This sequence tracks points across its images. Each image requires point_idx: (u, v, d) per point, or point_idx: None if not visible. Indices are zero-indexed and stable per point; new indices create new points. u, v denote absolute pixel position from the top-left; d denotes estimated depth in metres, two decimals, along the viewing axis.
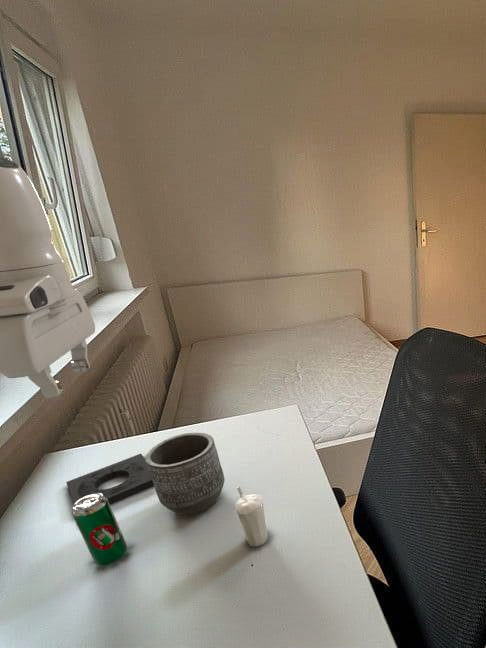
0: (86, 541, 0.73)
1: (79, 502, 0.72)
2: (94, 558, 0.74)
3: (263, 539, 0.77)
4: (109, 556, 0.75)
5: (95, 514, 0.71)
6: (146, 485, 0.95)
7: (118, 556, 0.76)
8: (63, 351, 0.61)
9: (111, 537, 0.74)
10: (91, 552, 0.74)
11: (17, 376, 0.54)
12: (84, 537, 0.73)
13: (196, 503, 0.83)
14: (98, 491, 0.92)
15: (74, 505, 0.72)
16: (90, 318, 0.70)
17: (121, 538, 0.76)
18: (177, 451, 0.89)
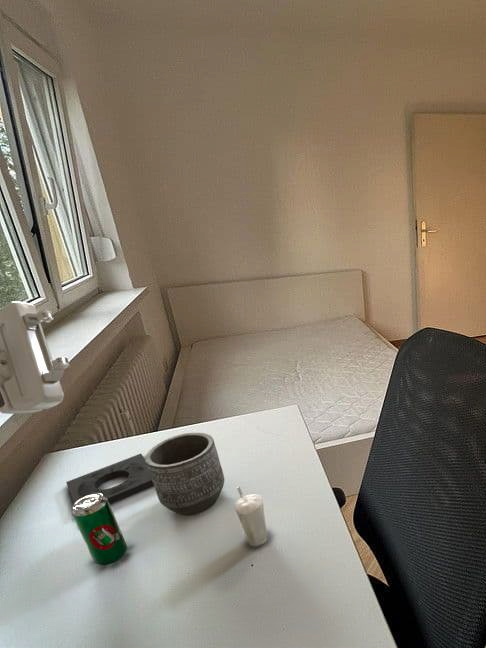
0: (86, 541, 0.73)
1: (79, 502, 0.72)
2: (94, 558, 0.74)
3: (263, 539, 0.77)
4: (109, 556, 0.75)
5: (95, 514, 0.71)
6: (146, 485, 0.95)
7: (118, 556, 0.76)
8: (30, 361, 0.78)
9: (111, 537, 0.74)
10: (91, 552, 0.74)
11: (56, 397, 0.79)
12: (84, 537, 0.73)
13: (196, 503, 0.83)
14: (98, 491, 0.92)
15: (74, 505, 0.72)
16: (6, 310, 0.80)
17: (121, 538, 0.76)
18: (177, 451, 0.89)
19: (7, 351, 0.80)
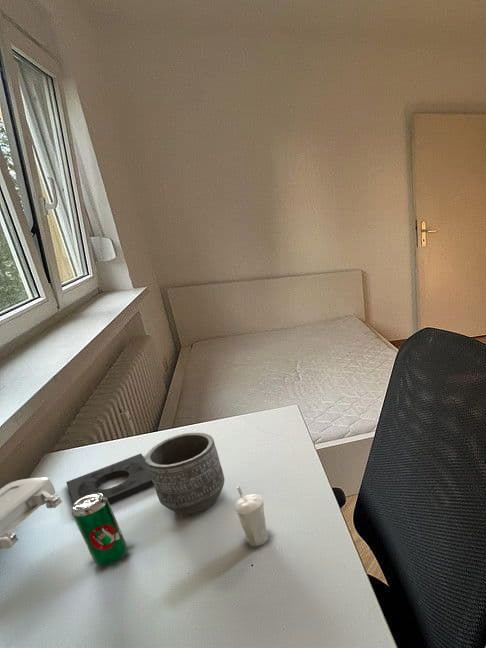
0: (86, 541, 0.73)
1: (79, 502, 0.72)
2: (94, 558, 0.74)
3: (263, 539, 0.77)
4: (109, 556, 0.75)
5: (95, 514, 0.71)
6: (146, 485, 0.95)
7: (118, 556, 0.76)
8: None
9: (111, 537, 0.74)
10: (91, 552, 0.74)
11: None
12: (84, 537, 0.73)
13: (196, 503, 0.83)
14: (98, 491, 0.92)
15: (74, 505, 0.72)
16: (34, 480, 0.83)
17: (121, 538, 0.76)
18: (177, 451, 0.89)
19: None
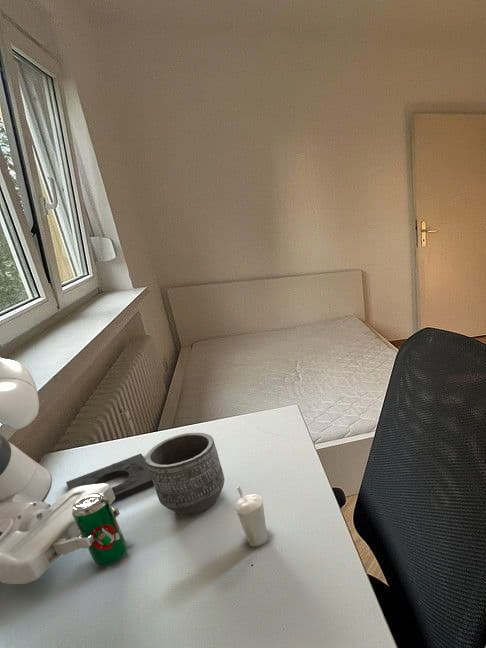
0: None
1: (79, 502, 0.73)
2: (94, 558, 0.74)
3: (263, 539, 0.77)
4: (109, 556, 0.75)
5: (95, 513, 0.71)
6: (146, 485, 0.95)
7: (118, 556, 0.76)
8: (60, 528, 0.72)
9: (111, 537, 0.74)
10: (91, 552, 0.74)
11: (31, 574, 0.66)
12: None
13: (196, 503, 0.83)
14: None
15: (74, 505, 0.72)
16: (95, 486, 0.82)
17: (121, 538, 0.76)
18: (177, 451, 0.89)
19: (53, 512, 0.77)
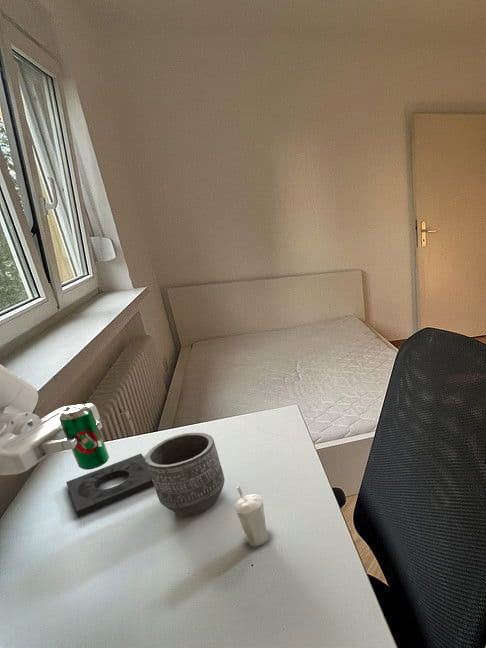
0: None
1: (65, 409, 0.81)
2: (78, 462, 0.83)
3: (263, 539, 0.77)
4: (92, 460, 0.83)
5: (79, 419, 0.80)
6: (146, 485, 0.95)
7: (100, 461, 0.84)
8: (48, 432, 0.81)
9: (94, 443, 0.83)
10: (76, 456, 0.83)
11: (20, 465, 0.75)
12: None
13: (196, 503, 0.83)
14: (98, 491, 0.92)
15: (61, 411, 0.81)
16: None
17: (103, 446, 0.85)
18: (177, 451, 0.89)
19: (42, 422, 0.85)
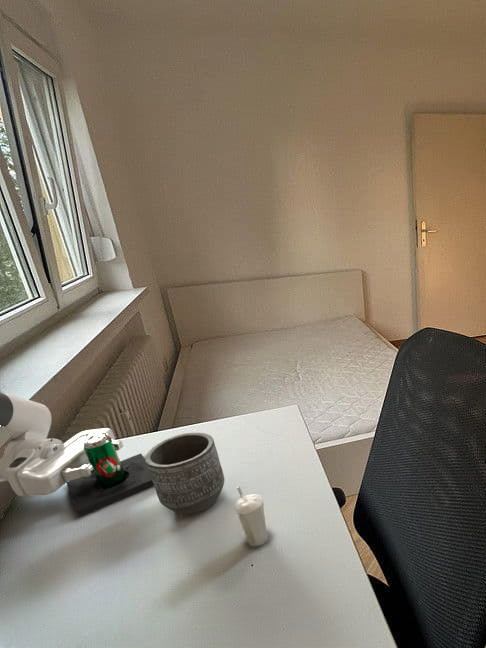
0: (94, 469, 0.92)
1: (88, 438, 0.92)
2: (100, 484, 0.94)
3: (263, 539, 0.77)
4: (112, 483, 0.94)
5: (101, 447, 0.91)
6: (146, 485, 0.95)
7: (119, 483, 0.95)
8: (72, 457, 0.91)
9: (114, 468, 0.94)
10: (98, 479, 0.93)
11: (50, 487, 0.85)
12: None
13: (196, 503, 0.83)
14: (98, 491, 0.92)
15: (85, 440, 0.91)
16: (99, 430, 1.01)
17: (121, 470, 0.96)
18: (177, 451, 0.89)
19: (65, 447, 0.96)
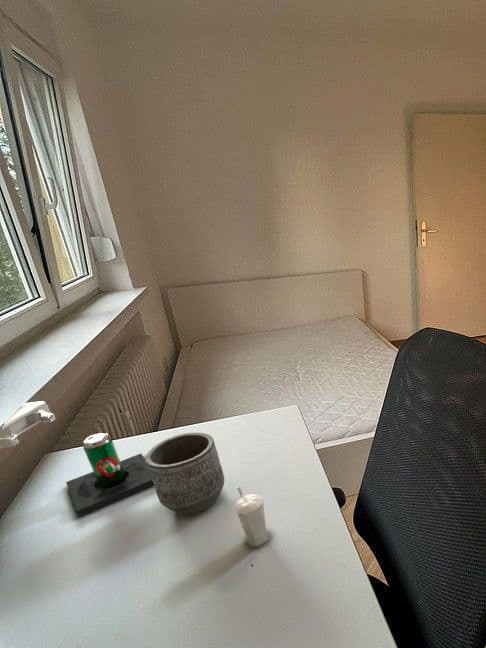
0: (94, 469, 0.92)
1: (88, 438, 0.92)
2: (100, 484, 0.94)
3: (263, 539, 0.77)
4: (112, 483, 0.94)
5: (101, 447, 0.91)
6: (146, 485, 0.95)
7: (119, 483, 0.95)
8: None
9: (114, 468, 0.94)
10: (98, 479, 0.93)
11: None
12: (92, 466, 0.92)
13: (196, 503, 0.83)
14: (98, 491, 0.92)
15: (85, 440, 0.91)
16: (33, 403, 0.99)
17: (121, 470, 0.96)
18: (177, 451, 0.89)
19: None
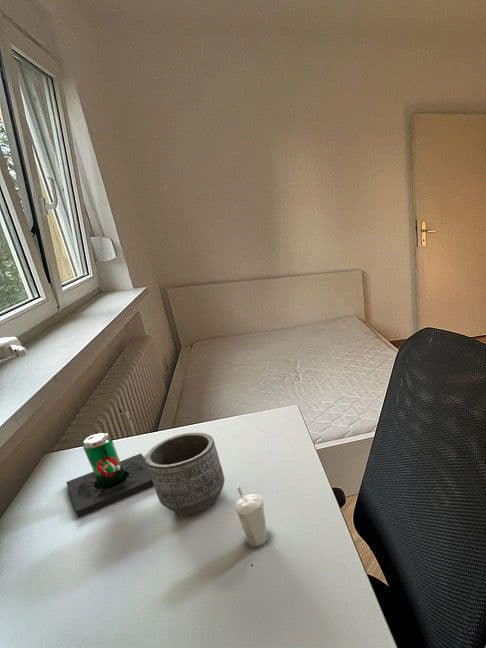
0: (94, 469, 0.92)
1: (88, 438, 0.92)
2: (100, 484, 0.94)
3: (263, 539, 0.77)
4: (112, 483, 0.94)
5: (101, 447, 0.91)
6: (146, 485, 0.95)
7: (119, 483, 0.95)
8: None
9: (114, 468, 0.94)
10: (98, 479, 0.93)
11: None
12: (92, 466, 0.92)
13: (196, 503, 0.83)
14: (98, 491, 0.92)
15: (85, 440, 0.91)
16: (4, 338, 0.93)
17: (121, 470, 0.96)
18: (177, 451, 0.89)
19: None
